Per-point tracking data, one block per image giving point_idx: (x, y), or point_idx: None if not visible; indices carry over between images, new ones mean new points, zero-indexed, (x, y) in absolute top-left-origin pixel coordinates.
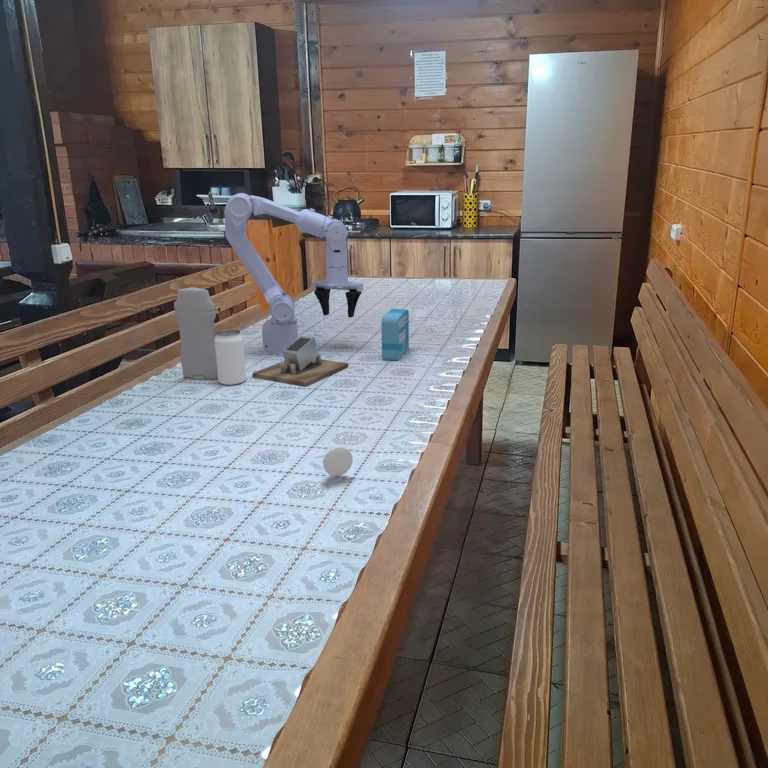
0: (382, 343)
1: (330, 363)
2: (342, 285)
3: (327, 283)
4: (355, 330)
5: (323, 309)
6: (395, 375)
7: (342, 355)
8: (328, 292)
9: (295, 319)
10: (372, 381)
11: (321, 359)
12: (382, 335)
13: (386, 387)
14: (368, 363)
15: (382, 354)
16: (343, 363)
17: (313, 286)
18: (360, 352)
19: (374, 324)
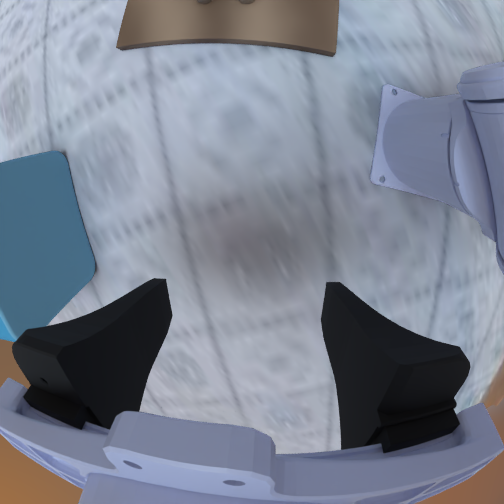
0: (26, 156)
1: (167, 16)
2: (66, 445)
3: (321, 501)
4: (301, 405)
5: (345, 295)
6: (18, 76)
7: (201, 155)
8: (347, 436)
9: (459, 165)
10: (45, 15)
11: (220, 36)
12: (6, 161)
13: (22, 14)
14: (87, 114)
15: (50, 151)
16: (129, 38)
17: (483, 418)
18: (164, 216)
19: (278, 440)
